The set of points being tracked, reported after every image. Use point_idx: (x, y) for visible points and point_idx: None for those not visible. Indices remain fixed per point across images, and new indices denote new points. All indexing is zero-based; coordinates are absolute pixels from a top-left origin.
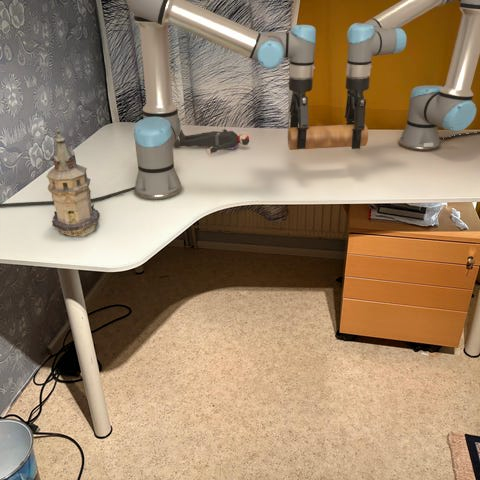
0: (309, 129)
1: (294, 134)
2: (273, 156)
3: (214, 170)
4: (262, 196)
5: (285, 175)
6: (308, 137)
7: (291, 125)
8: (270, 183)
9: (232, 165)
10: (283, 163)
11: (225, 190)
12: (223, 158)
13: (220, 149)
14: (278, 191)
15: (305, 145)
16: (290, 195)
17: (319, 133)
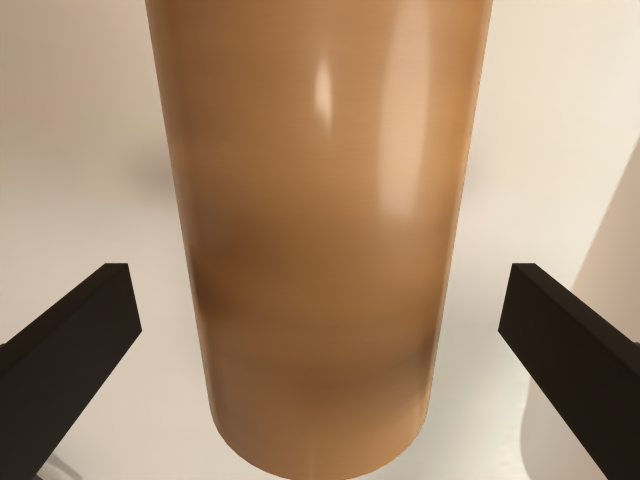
0: (395, 259)
1: (420, 411)
2: (35, 260)
3: (224, 476)
4: (506, 358)
5: None
6: (453, 245)
7: (82, 397)
8: None
9: (171, 425)
10: (134, 226)
11: (415, 457)
12: (94, 447)
13: (39, 477)
14: (477, 297)
15: (552, 278)
16: (536, 257)
17: (467, 87)
